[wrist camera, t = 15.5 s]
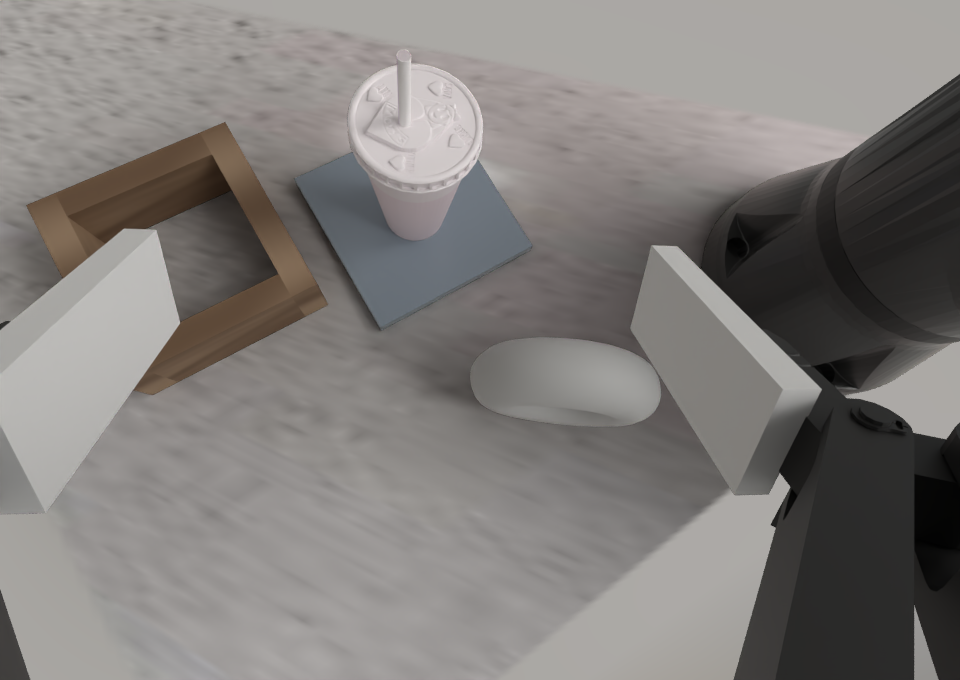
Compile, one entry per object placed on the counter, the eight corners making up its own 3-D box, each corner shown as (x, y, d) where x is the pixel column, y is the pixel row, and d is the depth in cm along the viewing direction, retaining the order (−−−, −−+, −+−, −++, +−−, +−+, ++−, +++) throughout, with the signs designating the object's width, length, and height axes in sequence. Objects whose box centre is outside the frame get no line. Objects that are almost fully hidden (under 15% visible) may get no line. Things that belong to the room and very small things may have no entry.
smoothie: (350, 181, 35) (312, -1, 21) (446, 157, 36) (468, -30, 22) (380, 273, 34) (361, 144, 20) (478, 245, 35) (522, 105, 21)
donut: (620, 380, 35) (701, 348, 25) (617, 434, 34) (699, 423, 24) (465, 358, 34) (486, 316, 24) (458, 414, 33) (477, 394, 23)
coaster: (530, 250, 36) (532, 245, 35) (381, 330, 34) (380, 327, 33) (445, 116, 37) (446, 109, 37) (296, 184, 35) (294, 178, 34)
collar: (328, 304, 34) (317, 284, 30) (152, 395, 31) (115, 385, 27) (245, 159, 35) (225, 122, 31) (71, 235, 33) (26, 205, 29)
